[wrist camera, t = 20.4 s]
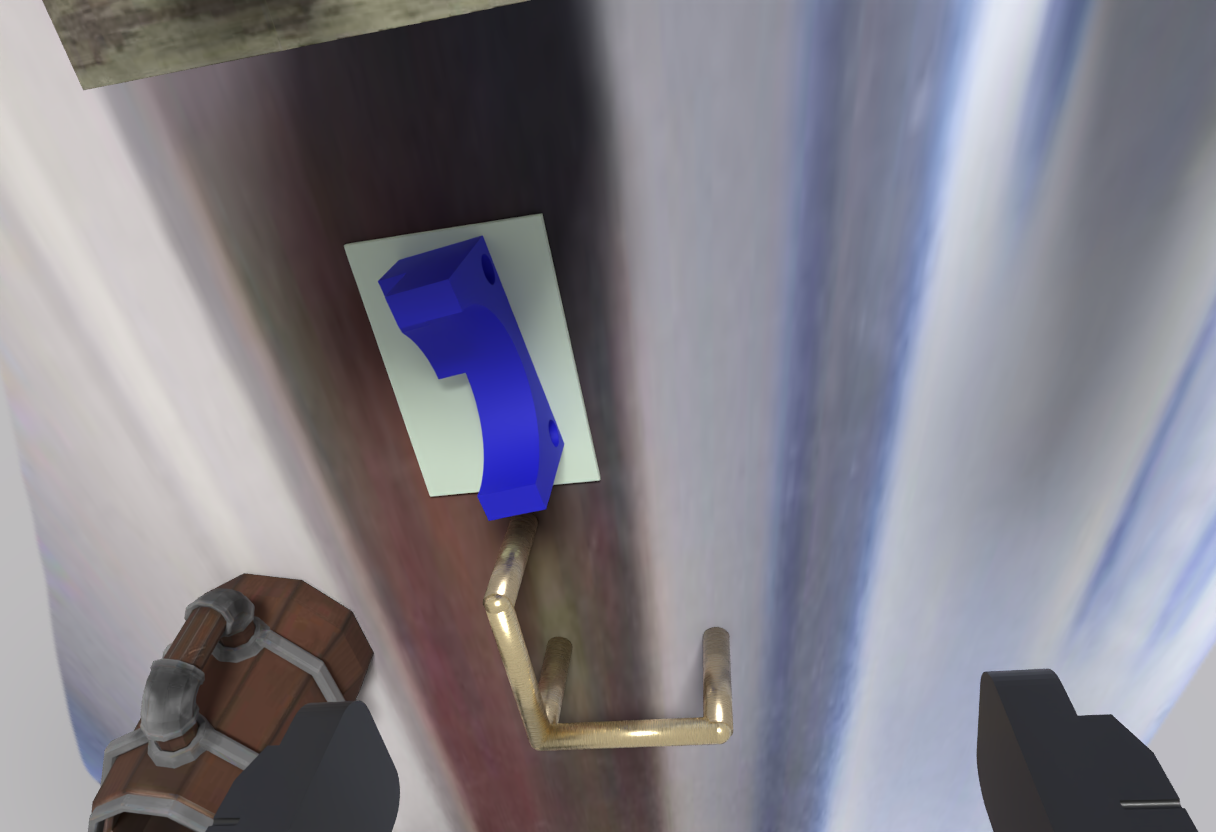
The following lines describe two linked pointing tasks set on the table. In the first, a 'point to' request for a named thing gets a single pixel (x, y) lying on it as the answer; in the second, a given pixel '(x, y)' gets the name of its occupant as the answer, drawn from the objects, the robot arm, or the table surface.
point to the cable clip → (481, 367)
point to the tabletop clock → (219, 30)
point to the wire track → (546, 698)
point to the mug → (226, 700)
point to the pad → (447, 406)
